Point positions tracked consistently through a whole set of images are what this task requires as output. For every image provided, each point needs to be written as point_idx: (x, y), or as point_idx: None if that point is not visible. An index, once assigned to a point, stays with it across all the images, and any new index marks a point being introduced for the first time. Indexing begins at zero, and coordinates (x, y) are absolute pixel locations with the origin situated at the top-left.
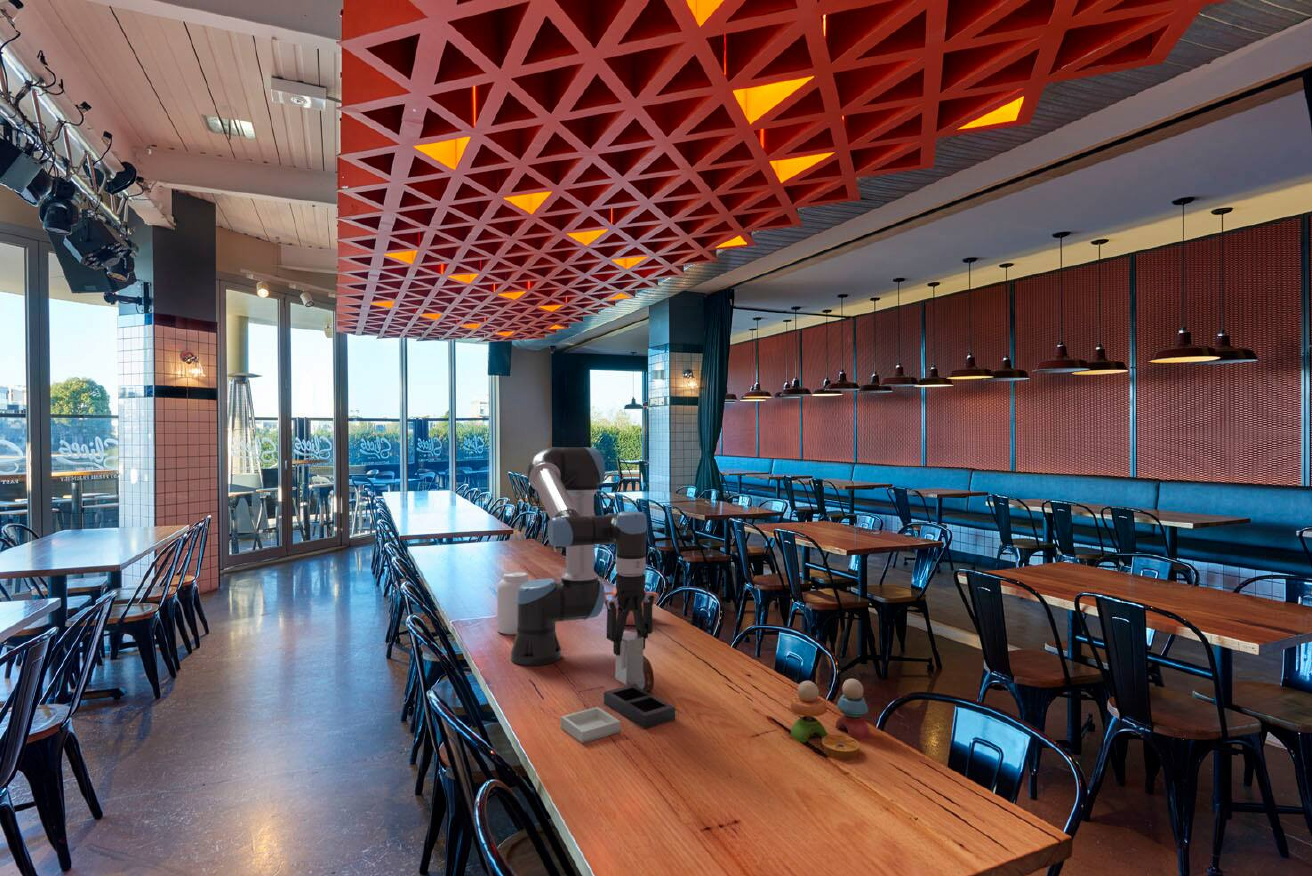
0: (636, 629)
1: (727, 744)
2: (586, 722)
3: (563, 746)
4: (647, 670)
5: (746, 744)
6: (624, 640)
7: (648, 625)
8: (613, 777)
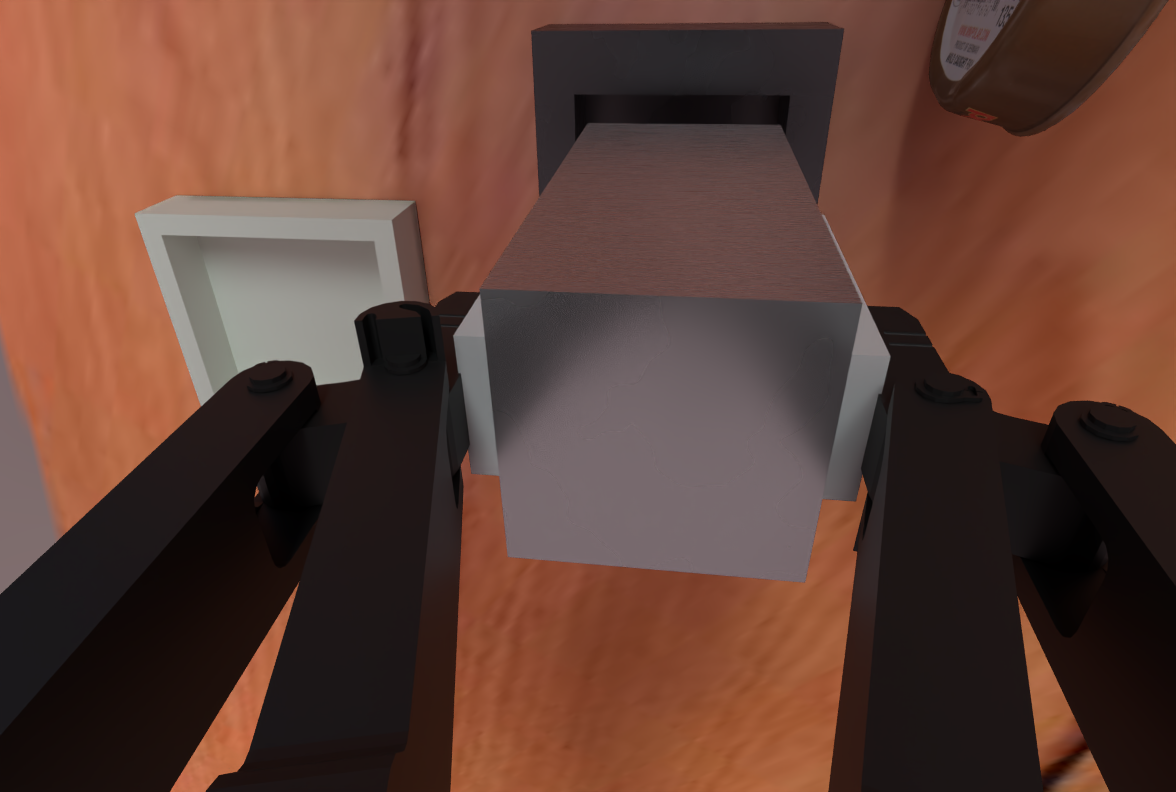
0: (890, 433)
1: (759, 711)
2: (311, 261)
3: (157, 377)
4: (1009, 100)
5: (815, 744)
6: (504, 501)
7: (1049, 660)
8: (280, 634)
